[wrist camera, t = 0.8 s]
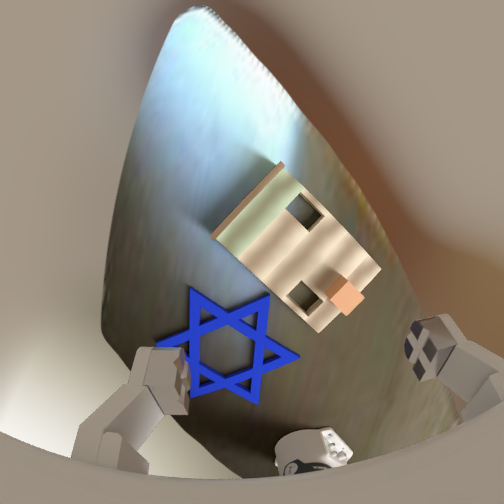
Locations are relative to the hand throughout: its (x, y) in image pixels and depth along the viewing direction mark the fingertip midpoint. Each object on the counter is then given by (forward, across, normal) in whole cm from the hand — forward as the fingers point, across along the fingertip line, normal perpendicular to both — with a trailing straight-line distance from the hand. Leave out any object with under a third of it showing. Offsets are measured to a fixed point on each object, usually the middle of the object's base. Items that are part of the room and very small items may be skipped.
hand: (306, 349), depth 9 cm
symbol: (+34, -7, -38) cm, 52 cm away
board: (+40, +8, -20) cm, 45 cm away
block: (+34, +15, -26) cm, 45 cm away
